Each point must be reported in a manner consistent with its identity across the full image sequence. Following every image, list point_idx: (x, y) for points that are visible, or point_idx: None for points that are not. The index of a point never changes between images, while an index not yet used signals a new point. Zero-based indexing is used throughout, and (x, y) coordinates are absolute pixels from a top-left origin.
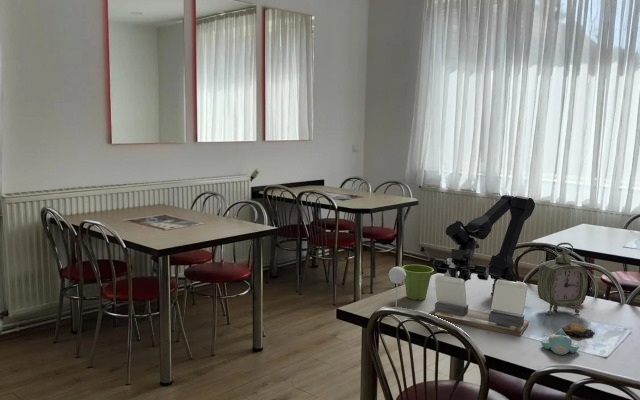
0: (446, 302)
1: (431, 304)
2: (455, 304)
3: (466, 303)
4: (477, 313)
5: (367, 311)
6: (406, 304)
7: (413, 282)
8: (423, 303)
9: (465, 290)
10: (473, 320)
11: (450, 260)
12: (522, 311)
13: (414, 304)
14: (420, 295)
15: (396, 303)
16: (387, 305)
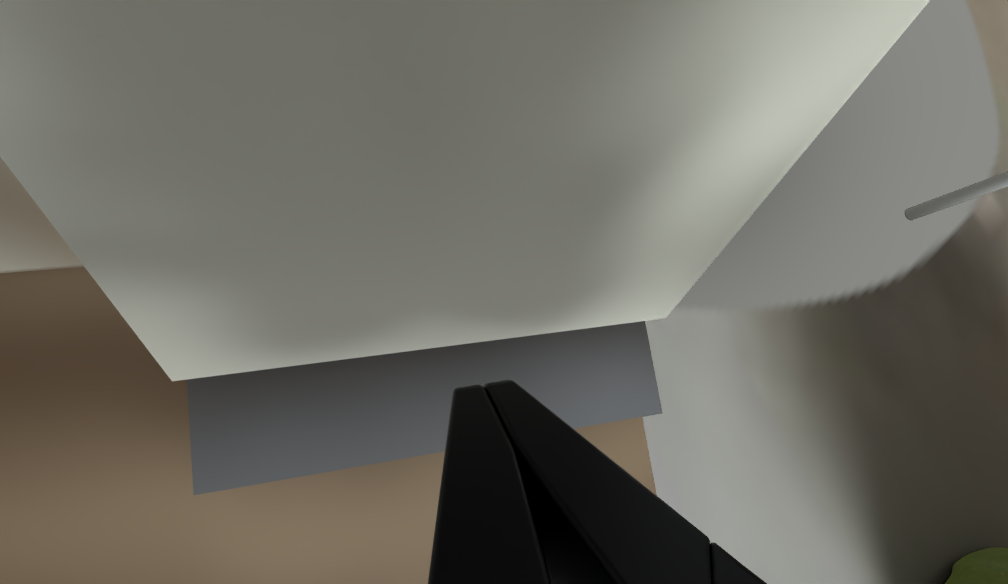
0: (532, 356)
1: (773, 570)
2: (382, 359)
3: (169, 374)
4: (75, 546)
5: (977, 11)
6: (919, 372)
7: None
8: (843, 532)
9: (11, 160)
10: (11, 194)
11: None
12: None
13: (877, 429)
14: None
15: (949, 193)
16: (989, 231)
